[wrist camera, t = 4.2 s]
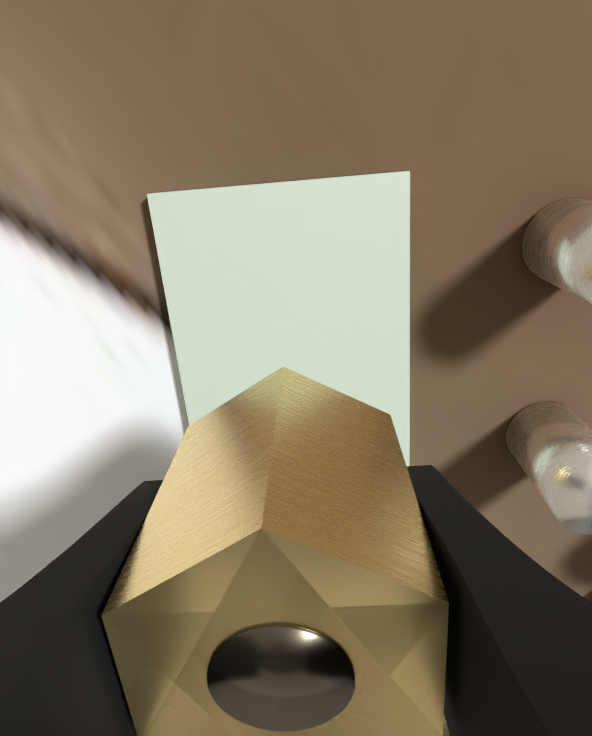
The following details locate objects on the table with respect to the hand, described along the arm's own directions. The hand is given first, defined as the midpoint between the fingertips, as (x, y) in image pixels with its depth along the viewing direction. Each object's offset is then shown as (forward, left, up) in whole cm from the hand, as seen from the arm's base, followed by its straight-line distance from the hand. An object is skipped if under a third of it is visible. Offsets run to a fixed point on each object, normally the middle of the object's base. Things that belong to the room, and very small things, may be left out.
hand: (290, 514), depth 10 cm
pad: (0, 0, -8) cm, 8 cm away
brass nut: (0, 0, -1) cm, 1 cm away
